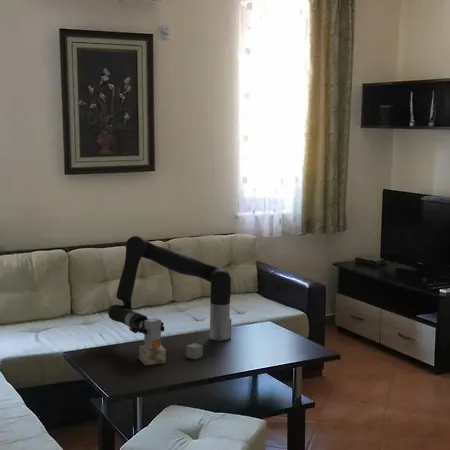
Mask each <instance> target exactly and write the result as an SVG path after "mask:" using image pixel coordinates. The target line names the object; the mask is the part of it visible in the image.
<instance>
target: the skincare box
mask: <svg viewBox="0 0 450 450" xmlns="http://www.w3.org/2000/svg"><path fill="white" fill-rule="evenodd" d="M161 322H162V319H160V318H157V317H153V318H148V320H145V329H147V334H146V335H145V334H143V335H144V337H143V339H144V341H143V343H144V344H143V345H144V348H147V349H154V348H157V347H161V343H162V341H161V340H162V331H161Z"/></svg>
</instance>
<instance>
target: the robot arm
mask: <svg viewBox="0 0 450 450" xmlns="http://www.w3.org/2000/svg"><path fill="white" fill-rule="evenodd" d="M143 258H144V259H147V260H151V261H153V262H155V263H156V264H158V265H160V266H162V267H163V268H166V269H168V270H170V271H173V272H175V273H178V274H181V275H185V276H190V277H197V278H200V279H203V280H205V281H206V282H209V283H210V297H209V299H210V302H209V304H210V306H209V307H210V310H209V339H210V340H211V341H214V340H215V341H214V342H224V341H223V340H226V341H228V340H229V338H230V339H232V318H230V317H231V313H230V311H231V291H232V290H231V289H232V287H231V286H232V278H231V274H230V273H229V271H228V270H227V269H226V268H224V267H222V266H220V267H219V266H216V265H213V264H209V263H206V262H204V261H201V260H199V259H197V258H195V257H193V256H190V255H189V254H185V253H183V252H181V251H179V250H174V249H171V248H168V247H163V246H159V245H157V244H154V243H152V242H151V241H148V240H146V239H144V238H143V237H141V236H138V235H133V236H131V237H129V238H128V239H127V241H126V243H125V258H124V265H123V269H122V272H121V276H120V279H119V283H118V286H117V291H116V295H115V296H116V299H117V300H120V301H122V303H123V305H121V304H113V305H111V306H110V307H109V308H108V310H107V314H108V318H109V319H111V320H112V321H114V322H118V323H122V324H124V325H125V326H127V327H128V328H129V331H130V332H132V333H134V334H137V333H138V334H142V335H144V334H145V335H146V334H147V329H145V320H148V319H149V318H148V317H147V316H146V315H144V314H142V313H140V312H139V311H135V310H132V308H133V307H132V299H133V298H132V297H133V294H134V288H135V283H136V280H137V279H136V278H137V273H138V268H139V263H140V261H141V259H143ZM162 332H165V326H164V322H163V321H161V333H162ZM227 339H228V340H227Z"/></svg>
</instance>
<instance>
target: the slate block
mask: <svg viewBox="0 0 450 450" xmlns="http://www.w3.org/2000/svg"><path fill="white" fill-rule="evenodd" d="M203 349H204V345H202V344H198V343H195V342H193V343H191V344H190V343H189V344H188V345H186V349H185V351H186V356H185V357H186V358H189V359H193V360H196V359H200V358H202V357H204V354H203V353H204V350H203Z"/></svg>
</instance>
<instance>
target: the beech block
mask: <svg viewBox="0 0 450 450" xmlns="http://www.w3.org/2000/svg"><path fill="white" fill-rule="evenodd" d="M138 346H139V347H138V348H139V349H138V351H139V352H138V359H139V360H140V361H141V362H142V364H143V365H144V366H149V365H151V366H152V365H157V364H166V360H167V359H166V357H167V354H166V353H167V351H166V349H165V347H164V346H163V345H161V347H157V348H154V349H147V348H144V344H141V345H138Z"/></svg>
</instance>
